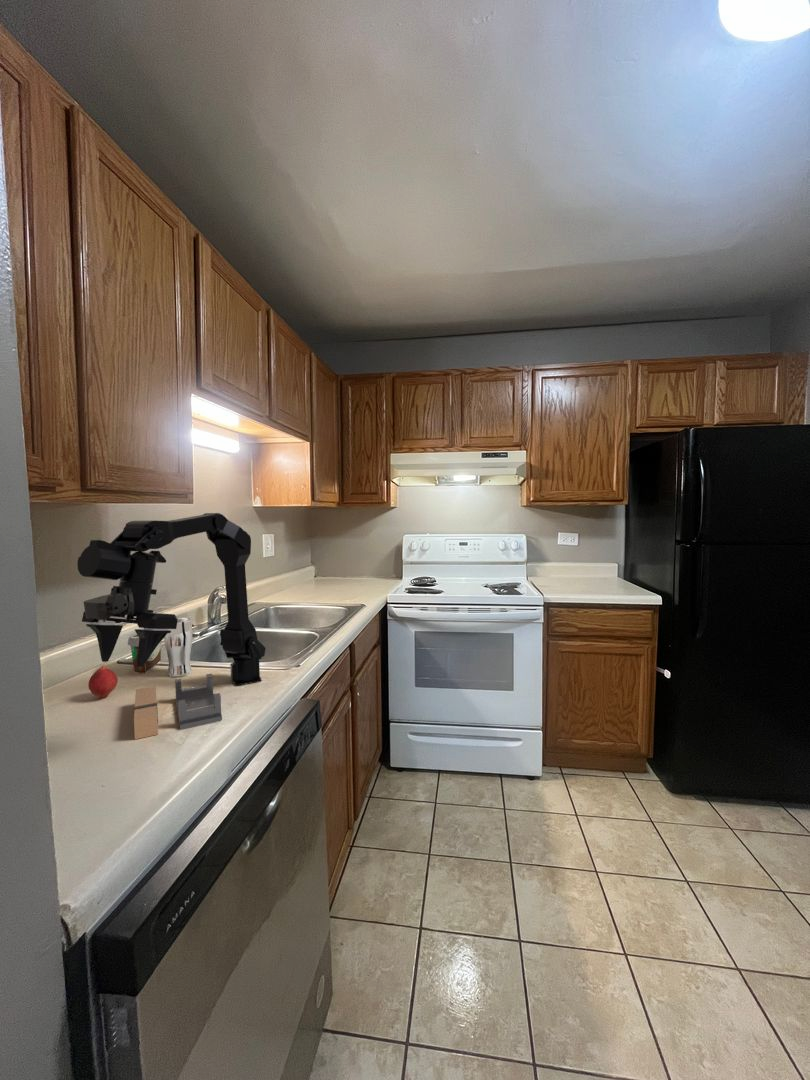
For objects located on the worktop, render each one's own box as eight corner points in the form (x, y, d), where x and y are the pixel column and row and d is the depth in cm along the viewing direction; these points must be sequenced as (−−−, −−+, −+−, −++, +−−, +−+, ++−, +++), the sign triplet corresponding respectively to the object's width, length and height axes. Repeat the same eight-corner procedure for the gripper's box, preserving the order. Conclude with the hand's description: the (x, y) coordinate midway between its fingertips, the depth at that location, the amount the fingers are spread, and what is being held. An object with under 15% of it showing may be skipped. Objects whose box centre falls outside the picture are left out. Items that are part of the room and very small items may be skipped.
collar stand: (211, 692, 113) (210, 672, 112) (222, 720, 97) (221, 697, 97) (175, 698, 109) (174, 678, 108) (180, 729, 93) (179, 705, 93)
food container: (142, 661, 137) (140, 628, 137) (163, 660, 138) (162, 627, 137) (119, 675, 125) (118, 639, 124) (143, 675, 125) (141, 639, 125)
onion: (101, 704, 106) (99, 670, 106) (83, 700, 108) (81, 667, 108) (123, 694, 112) (122, 662, 111) (106, 691, 114) (104, 660, 113)
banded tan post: (157, 703, 107) (156, 685, 107) (158, 734, 91) (157, 714, 91) (136, 707, 105) (135, 689, 105) (134, 740, 89) (133, 719, 89)
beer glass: (162, 679, 122) (160, 623, 121) (169, 670, 129) (166, 618, 128) (191, 676, 124) (189, 621, 123) (195, 668, 131) (193, 616, 130)
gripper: (62, 576, 86) (44, 661, 83) (135, 580, 79) (119, 673, 77) (116, 582, 96) (102, 658, 93) (185, 586, 90) (172, 668, 87)
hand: (122, 664), depth 87 cm, fingers open, 9 cm apart
